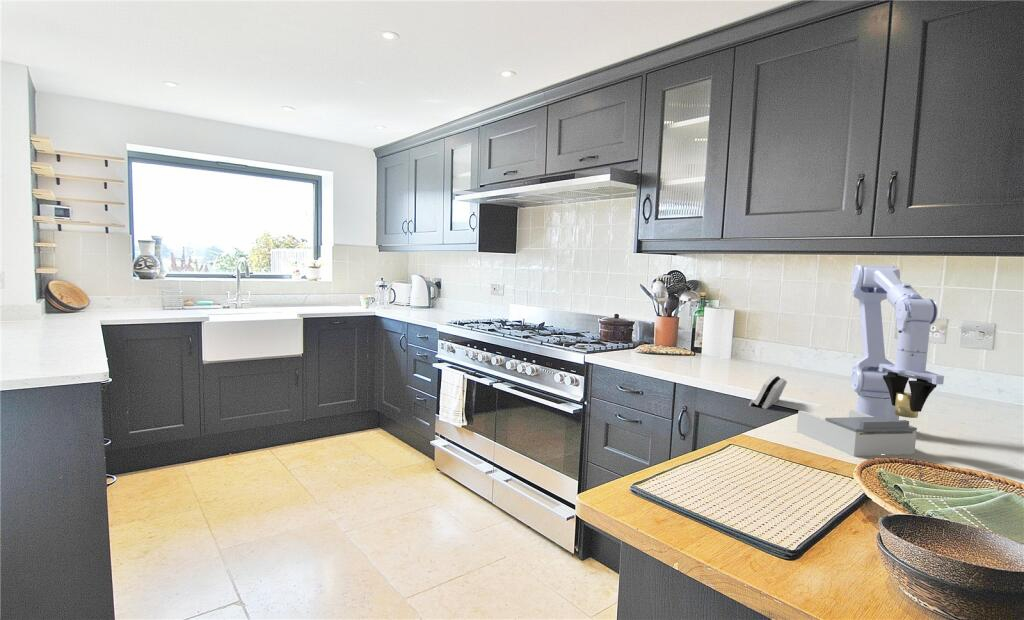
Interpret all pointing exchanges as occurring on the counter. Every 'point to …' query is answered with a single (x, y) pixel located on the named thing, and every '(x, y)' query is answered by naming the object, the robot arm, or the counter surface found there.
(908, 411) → the gold small block
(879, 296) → the robot arm
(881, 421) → the lid
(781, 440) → the counter surface
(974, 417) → the counter surface
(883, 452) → the box
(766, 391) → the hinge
